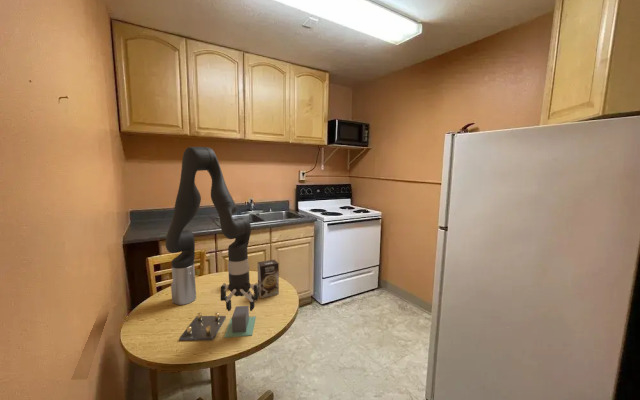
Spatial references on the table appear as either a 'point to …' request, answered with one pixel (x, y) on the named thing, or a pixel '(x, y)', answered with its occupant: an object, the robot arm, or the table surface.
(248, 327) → the board
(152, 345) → the table surface
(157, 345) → the table surface
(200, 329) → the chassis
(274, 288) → the coffee box
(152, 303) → the table surface
